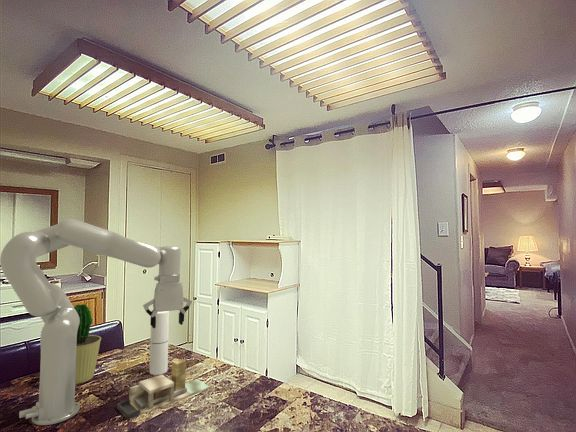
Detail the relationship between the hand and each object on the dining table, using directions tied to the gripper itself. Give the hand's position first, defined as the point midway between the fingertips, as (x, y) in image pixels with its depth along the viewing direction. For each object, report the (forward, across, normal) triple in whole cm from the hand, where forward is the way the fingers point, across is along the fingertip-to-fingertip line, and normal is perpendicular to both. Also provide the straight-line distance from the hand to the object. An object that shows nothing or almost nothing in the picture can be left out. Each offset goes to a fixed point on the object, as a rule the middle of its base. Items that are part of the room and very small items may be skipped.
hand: (167, 325), depth 123 cm
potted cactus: (+25, -27, +31) cm, 48 cm away
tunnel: (+24, -1, -4) cm, 25 cm away
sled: (+23, -2, -4) cm, 24 cm away
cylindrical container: (+24, +2, +21) cm, 32 cm away
